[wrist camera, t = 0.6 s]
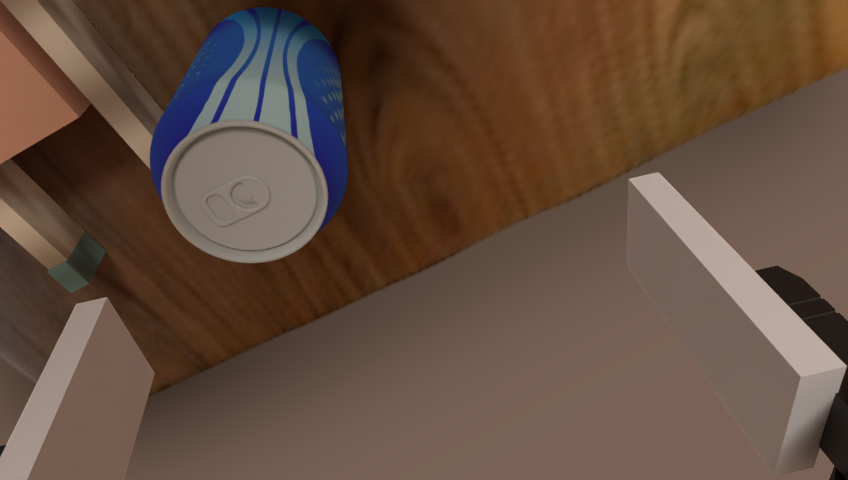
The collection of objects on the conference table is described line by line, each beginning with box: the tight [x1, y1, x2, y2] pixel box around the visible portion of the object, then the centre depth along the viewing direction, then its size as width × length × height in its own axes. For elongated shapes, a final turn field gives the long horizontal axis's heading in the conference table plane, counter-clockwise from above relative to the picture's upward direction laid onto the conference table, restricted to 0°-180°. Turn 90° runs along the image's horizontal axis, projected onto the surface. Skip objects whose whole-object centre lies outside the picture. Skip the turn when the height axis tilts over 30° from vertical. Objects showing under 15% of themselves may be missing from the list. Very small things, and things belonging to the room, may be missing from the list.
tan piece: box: [0, 0, 164, 293], centre depth 36 cm, size 18×12×4 cm, turn 27°
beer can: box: [150, 7, 348, 263], centre depth 32 cm, size 8×8×16 cm
